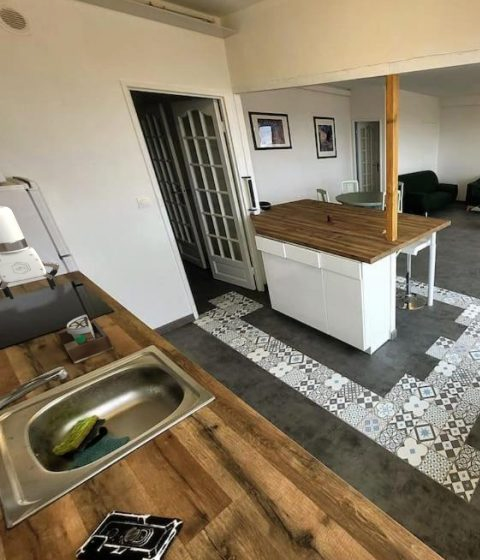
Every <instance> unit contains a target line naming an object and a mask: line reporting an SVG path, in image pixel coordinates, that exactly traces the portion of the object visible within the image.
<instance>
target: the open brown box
mask: <svg viewBox="0 0 480 560" xmlns="http://www.w3.org/2000/svg"><path fill="white" fill-rule="evenodd" d="M90 323H91V326H92V328H93V330H94V332H95V335H96V337H97V339H95V340H92V341H89V342H87V343H84V344H81V345H78V344H77V342H76V340H75V339H74V337H73V336H72V334H69V333H68V332H67V329H65V330H61V331H59V332H57V336H58V337H59V339H60V341H61V343H62V345H63V347H64V349H65V350H66V352H67V354H68V355H69V357H70V359H71V361H72V362H73V364H77V363H80V362H83V361H85V360H87V359H90V358H93V357H96V356H98V355H100V354H103V353H106V352H108V351H112V350H113V349H114V347H113V345H112V342H111V340H110V338H109V335H108V334H107V333H106V332H105V331H104V329H103V328H102V327H101V326H100V324H98V322H97V321H96V320H92V321H90Z"/></svg>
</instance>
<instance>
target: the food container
mask: <svg viewBox="0 0 480 560" xmlns="http://www.w3.org/2000/svg"><path fill="white" fill-rule="evenodd" d="M90 322H91V321H90V319H89V317H88V315H87V314H82V315H80V316H78V317H74V318H73V319H71V320H70V321H69V322H67V324H66V330H67V332H68V333H69V334H72V336H73V337H74V339H75V340H76V342H77V344H78V345H81V344H84V343H87V342H89V341H92V340H95V339H97V337H96V335H95V332H94V330H93V328H92V326H91V323H90Z"/></svg>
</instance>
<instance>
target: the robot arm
mask: <svg viewBox="0 0 480 560" xmlns="http://www.w3.org/2000/svg"><path fill="white" fill-rule="evenodd" d="M28 244H29V243H28V242H27V239H26V238H25V235H24V234H23V231H22V230H21V226H20V225H19V222H18V221H17V218H16V216H15V214H14V212H13V210H12V209H11V208H10V207H8V206H5V205H0V290H1V291H2V292H3V294H4V296H5V298H9V299H10V300H14V295H13V293H12V292H11V290H10V288H9V286H8V285H9V284H11V283H16V282H22V281H27V280H32V279H36V278H41V277H44V278H45V279H46V281H47V283H48V285H49V288H50V289H51V291H55V290H56V288H55V287H56V286H57V284H56V282H55V280H54V277H55V276H56V275H57V274H58V272H59V268H60V264H59V263H55V262H49V261H42V260H41V258H40V256H39V254H38V253H37V251H36V249H34V247H32V246H31V245H28ZM45 267H47V268H52V269H51V271H49V272H48V271H47V270H46V268H45Z"/></svg>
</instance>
